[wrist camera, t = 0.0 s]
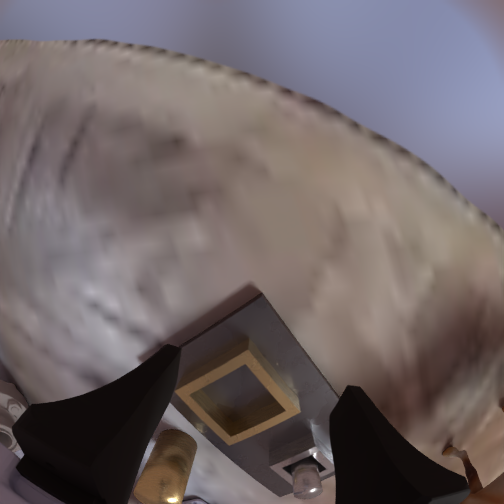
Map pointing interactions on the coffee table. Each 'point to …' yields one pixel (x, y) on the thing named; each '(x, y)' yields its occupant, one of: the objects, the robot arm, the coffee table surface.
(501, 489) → the horse figurine
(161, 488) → the brass fitting
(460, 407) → the coffee table surface
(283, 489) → the plate
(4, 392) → the valve
